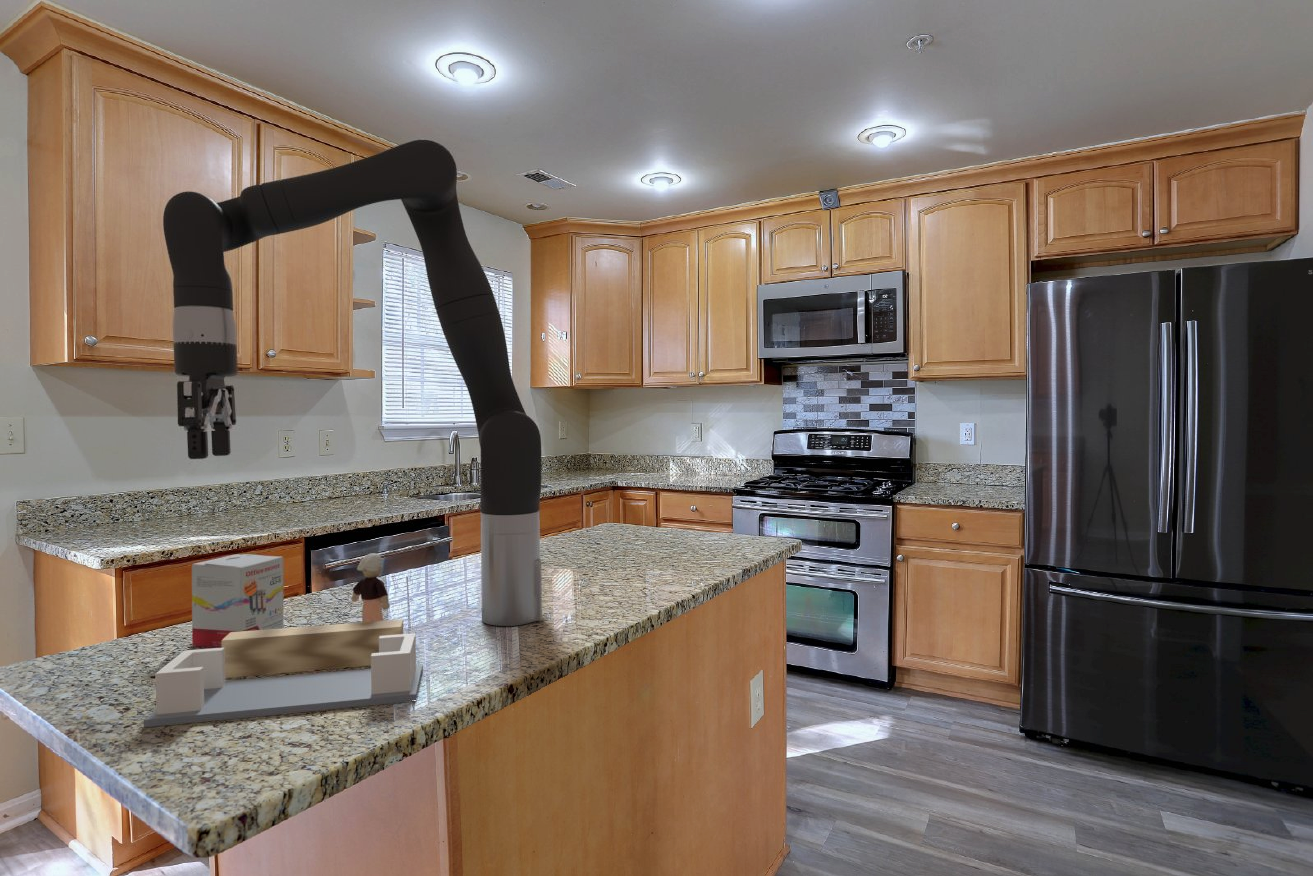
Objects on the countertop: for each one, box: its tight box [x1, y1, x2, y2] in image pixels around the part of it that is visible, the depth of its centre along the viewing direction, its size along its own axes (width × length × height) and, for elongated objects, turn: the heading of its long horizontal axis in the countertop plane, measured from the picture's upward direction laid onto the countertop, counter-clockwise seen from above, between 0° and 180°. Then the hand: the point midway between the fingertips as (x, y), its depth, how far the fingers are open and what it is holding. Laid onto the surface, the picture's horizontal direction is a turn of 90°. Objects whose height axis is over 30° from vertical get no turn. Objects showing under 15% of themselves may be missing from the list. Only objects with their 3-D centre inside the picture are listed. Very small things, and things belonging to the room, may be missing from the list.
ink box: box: [191, 553, 285, 648], centre depth 103 cm, size 9×9×12 cm
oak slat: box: [221, 619, 404, 679], centre depth 92 cm, size 21×4×5 cm, turn 105°
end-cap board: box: [143, 632, 424, 728], centre depth 81 cm, size 27×10×5 cm, turn 104°
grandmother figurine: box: [350, 552, 391, 622], centre depth 102 cm, size 8×4×13 cm, turn 71°
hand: (210, 457), depth 99 cm, fingers open, 8 cm apart
